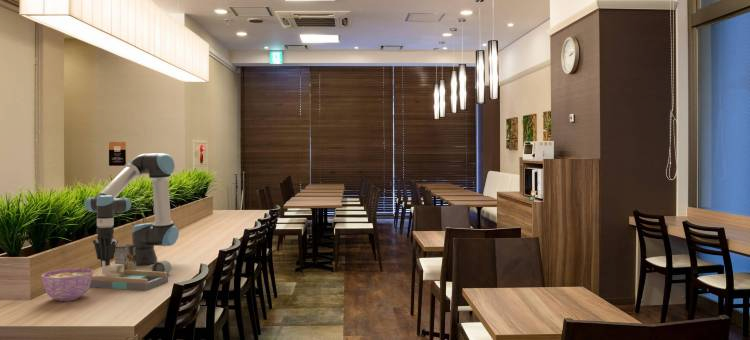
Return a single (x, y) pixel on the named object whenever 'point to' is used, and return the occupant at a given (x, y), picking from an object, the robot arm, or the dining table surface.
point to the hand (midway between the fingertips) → (105, 273)
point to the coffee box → (126, 256)
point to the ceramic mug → (162, 266)
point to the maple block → (114, 270)
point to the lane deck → (131, 280)
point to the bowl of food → (67, 283)
